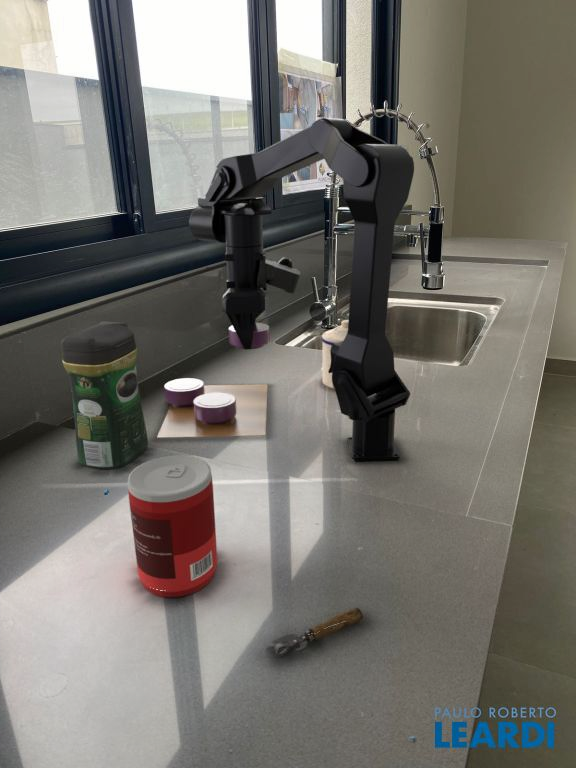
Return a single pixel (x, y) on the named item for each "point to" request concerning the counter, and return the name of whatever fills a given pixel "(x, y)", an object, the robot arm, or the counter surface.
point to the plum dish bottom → (214, 407)
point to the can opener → (302, 640)
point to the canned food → (173, 524)
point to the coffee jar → (105, 395)
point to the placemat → (242, 424)
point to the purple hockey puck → (183, 391)
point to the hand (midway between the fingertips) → (248, 343)
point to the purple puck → (259, 336)
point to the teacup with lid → (329, 339)
